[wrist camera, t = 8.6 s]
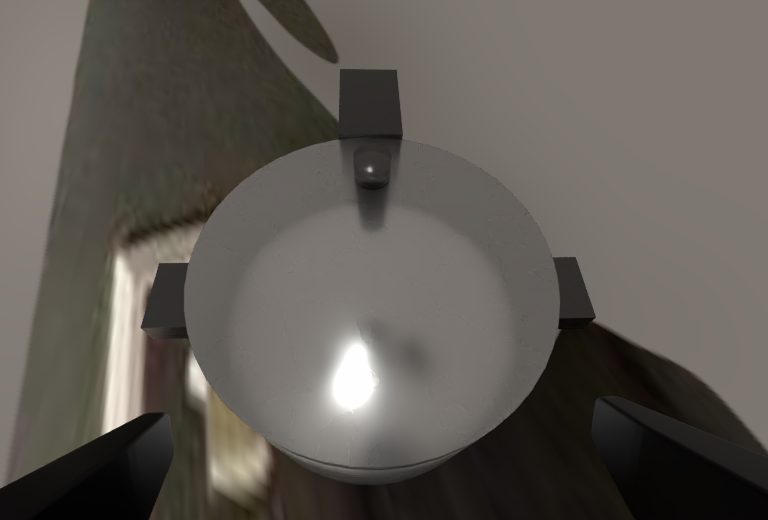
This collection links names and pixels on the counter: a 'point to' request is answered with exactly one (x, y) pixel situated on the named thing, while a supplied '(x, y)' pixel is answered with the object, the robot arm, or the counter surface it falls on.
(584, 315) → the cooker pot
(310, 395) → the cooker lid
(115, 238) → the counter surface
